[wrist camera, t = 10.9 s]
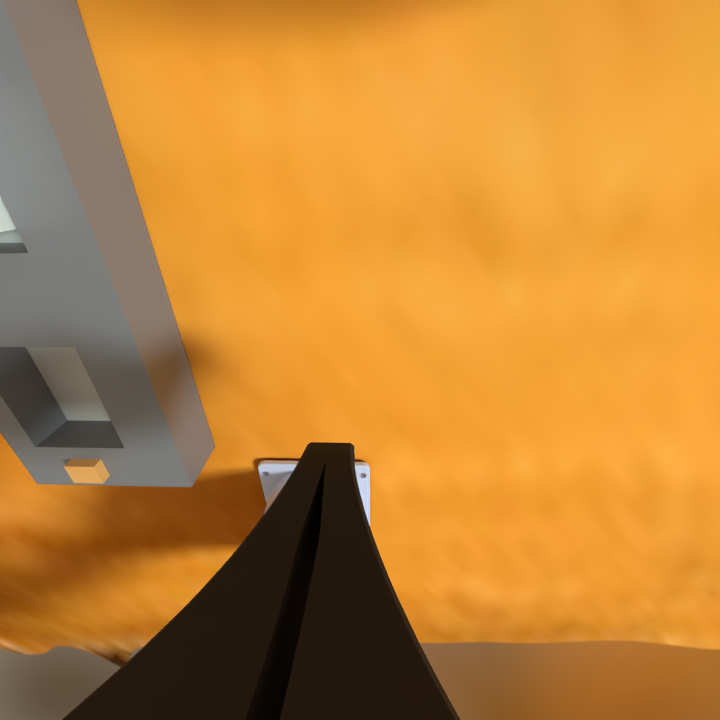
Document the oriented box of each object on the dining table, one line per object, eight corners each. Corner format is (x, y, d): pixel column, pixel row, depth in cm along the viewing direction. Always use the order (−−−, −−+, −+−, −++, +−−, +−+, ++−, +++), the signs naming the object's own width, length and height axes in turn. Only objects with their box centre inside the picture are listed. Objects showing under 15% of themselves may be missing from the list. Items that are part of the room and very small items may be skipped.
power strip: (215, 446, 24) (187, 495, 20) (79, 444, 24) (28, 492, 21) (60, -51, 12) (-72, -142, 8) (-200, -38, 12) (-429, -120, 9)
